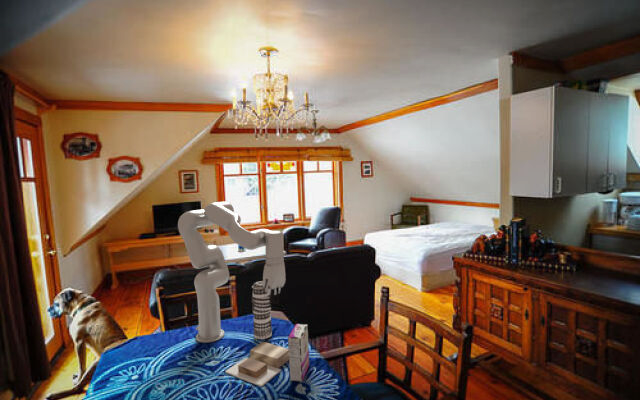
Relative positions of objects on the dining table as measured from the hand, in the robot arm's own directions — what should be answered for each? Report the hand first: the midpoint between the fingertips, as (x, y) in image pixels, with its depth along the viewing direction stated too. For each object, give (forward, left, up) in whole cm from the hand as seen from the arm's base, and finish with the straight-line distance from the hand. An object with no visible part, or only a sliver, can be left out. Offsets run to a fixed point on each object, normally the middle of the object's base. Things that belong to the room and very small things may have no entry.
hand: (275, 302), depth 140 cm
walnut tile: (+3, -18, -17) cm, 25 cm away
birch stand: (+2, -7, -21) cm, 22 cm away
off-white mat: (+2, -17, -21) cm, 27 cm away
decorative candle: (-15, +8, -21) cm, 26 cm away
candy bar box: (+18, -9, -21) cm, 29 cm away
